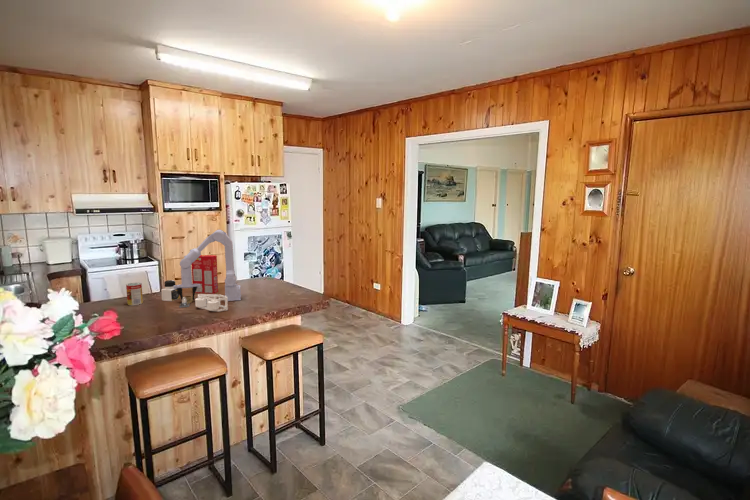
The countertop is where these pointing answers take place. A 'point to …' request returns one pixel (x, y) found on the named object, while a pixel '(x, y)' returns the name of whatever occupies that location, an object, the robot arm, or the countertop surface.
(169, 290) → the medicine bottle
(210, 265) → the food packaging
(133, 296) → the canned food
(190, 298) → the wooden ring
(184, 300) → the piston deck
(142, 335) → the countertop surface
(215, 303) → the car outline toy
